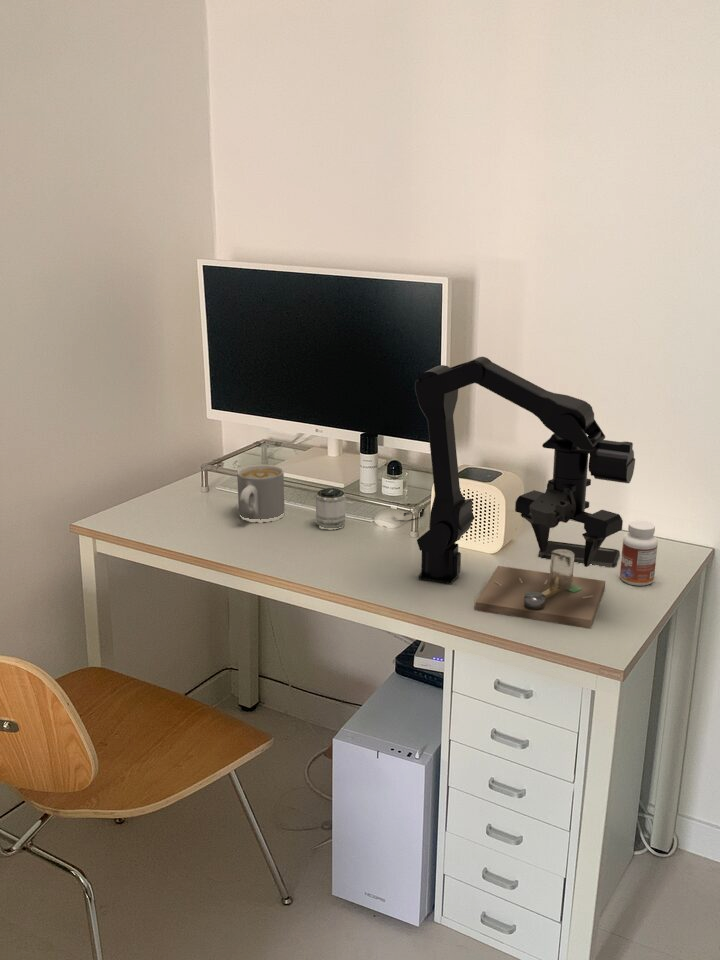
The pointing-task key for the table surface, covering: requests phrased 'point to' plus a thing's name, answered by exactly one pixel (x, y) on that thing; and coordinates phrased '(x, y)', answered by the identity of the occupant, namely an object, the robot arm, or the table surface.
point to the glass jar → (330, 508)
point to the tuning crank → (554, 578)
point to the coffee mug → (260, 491)
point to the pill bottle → (639, 553)
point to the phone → (601, 558)
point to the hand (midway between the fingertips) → (564, 558)
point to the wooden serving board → (560, 607)
